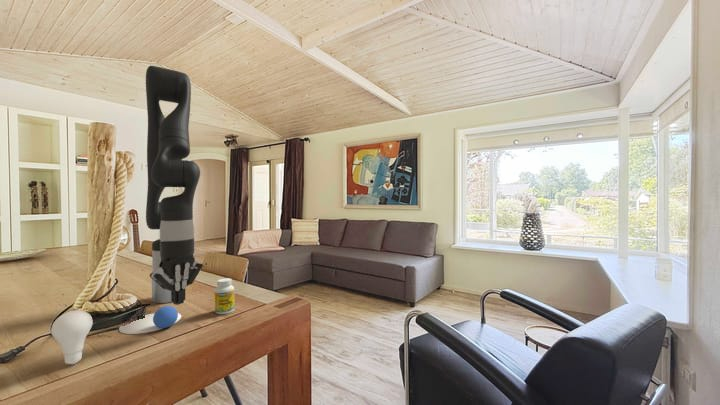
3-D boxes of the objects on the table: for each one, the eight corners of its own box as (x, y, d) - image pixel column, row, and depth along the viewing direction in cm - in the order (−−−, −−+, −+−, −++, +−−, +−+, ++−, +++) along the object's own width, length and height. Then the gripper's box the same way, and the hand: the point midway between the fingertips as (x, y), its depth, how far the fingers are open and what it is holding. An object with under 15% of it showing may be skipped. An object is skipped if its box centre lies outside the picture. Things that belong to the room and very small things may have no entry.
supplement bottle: (232, 306, 92) (232, 276, 92) (236, 312, 87) (235, 280, 87) (214, 310, 89) (213, 279, 89) (216, 316, 84) (215, 283, 84)
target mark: (107, 328, 77) (107, 327, 77) (162, 309, 90) (162, 308, 90) (138, 338, 71) (138, 337, 71) (192, 317, 84) (192, 316, 84)
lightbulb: (71, 356, 63) (69, 306, 63) (101, 355, 64) (100, 305, 64) (42, 373, 57) (41, 317, 57) (76, 371, 58) (75, 316, 57)
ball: (166, 319, 74) (157, 336, 74) (185, 312, 79) (177, 327, 80) (153, 305, 75) (144, 321, 76) (173, 299, 80) (164, 314, 81)
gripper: (192, 233, 83) (193, 293, 83) (140, 239, 71) (141, 310, 71) (210, 235, 79) (210, 297, 80) (159, 242, 68) (160, 315, 68)
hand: (178, 303), depth 76 cm, fingers closed
